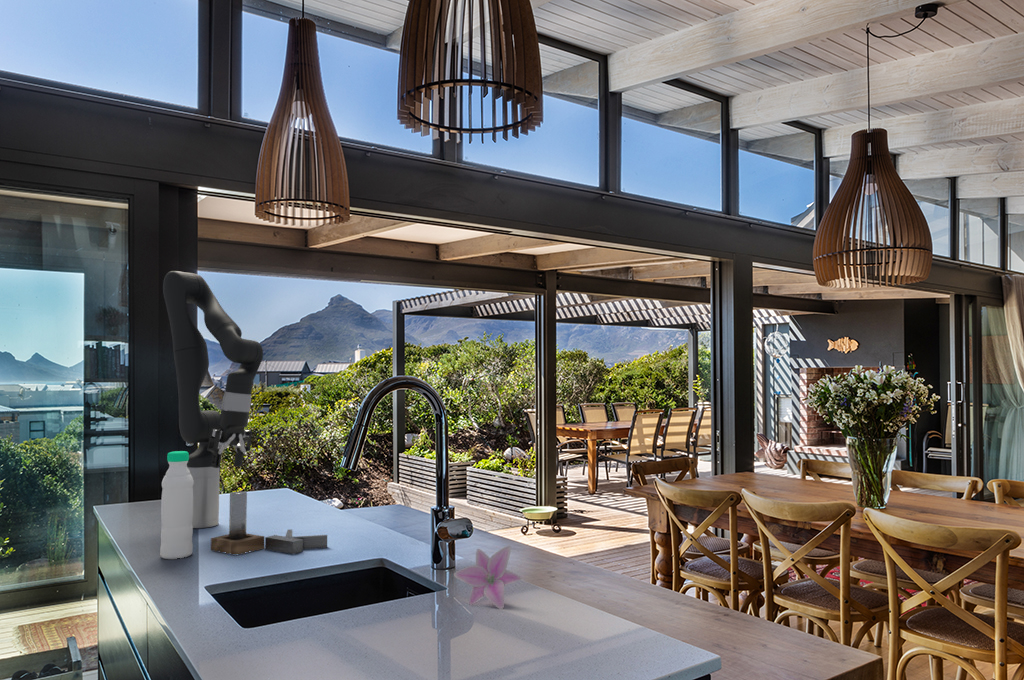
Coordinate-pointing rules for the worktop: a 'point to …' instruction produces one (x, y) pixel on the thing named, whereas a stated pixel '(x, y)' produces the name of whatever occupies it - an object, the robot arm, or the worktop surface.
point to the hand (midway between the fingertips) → (226, 467)
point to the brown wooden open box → (237, 544)
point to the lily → (489, 576)
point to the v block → (294, 543)
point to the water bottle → (177, 508)
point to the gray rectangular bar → (238, 515)
